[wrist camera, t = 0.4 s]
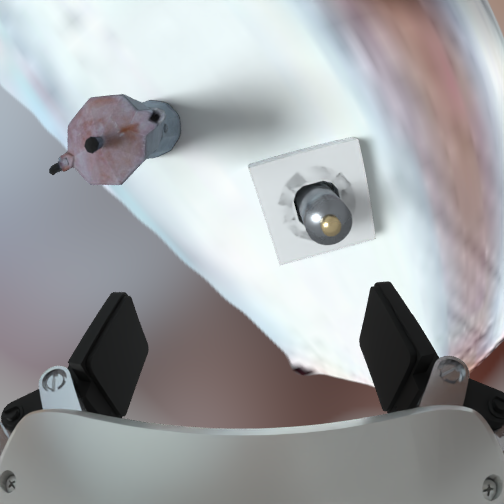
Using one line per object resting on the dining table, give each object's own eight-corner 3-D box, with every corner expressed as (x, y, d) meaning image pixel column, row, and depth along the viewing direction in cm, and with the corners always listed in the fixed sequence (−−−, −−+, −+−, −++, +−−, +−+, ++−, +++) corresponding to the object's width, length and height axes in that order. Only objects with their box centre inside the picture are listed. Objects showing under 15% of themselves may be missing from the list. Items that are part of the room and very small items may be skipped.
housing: (248, 164, 41) (248, 168, 38) (351, 137, 38) (358, 139, 36) (278, 256, 48) (279, 265, 45) (369, 230, 45) (375, 238, 43)
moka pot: (210, 138, 39) (171, 161, 21) (123, 178, 42) (50, 228, 24) (186, 81, 35) (129, 61, 17) (101, 127, 38) (15, 150, 20)
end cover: (290, 185, 42) (301, 211, 32) (328, 175, 41) (350, 197, 31) (300, 221, 45) (313, 255, 35) (336, 211, 44) (358, 242, 34)
